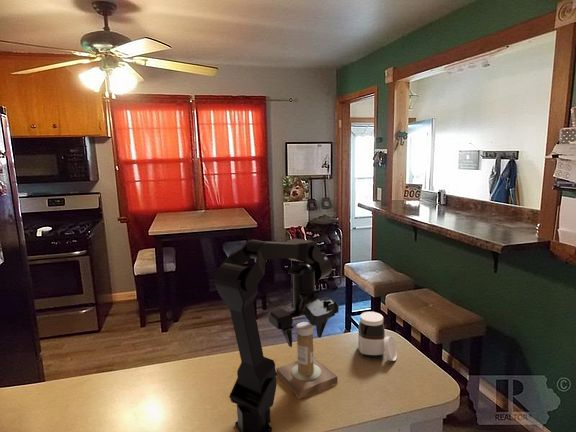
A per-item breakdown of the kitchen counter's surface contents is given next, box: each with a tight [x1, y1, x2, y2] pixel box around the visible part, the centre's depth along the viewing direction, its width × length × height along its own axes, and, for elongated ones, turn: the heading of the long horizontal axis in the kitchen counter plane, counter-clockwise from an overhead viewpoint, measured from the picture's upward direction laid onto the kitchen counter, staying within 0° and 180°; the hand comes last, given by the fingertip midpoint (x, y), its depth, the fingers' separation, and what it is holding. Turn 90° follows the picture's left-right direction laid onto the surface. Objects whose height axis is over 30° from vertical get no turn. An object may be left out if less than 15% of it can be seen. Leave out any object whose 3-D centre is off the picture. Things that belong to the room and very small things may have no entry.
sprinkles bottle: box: [295, 321, 315, 376], centre depth 100 cm, size 5×5×13 cm
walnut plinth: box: [275, 356, 338, 400], centre depth 102 cm, size 12×12×2 cm
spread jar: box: [357, 311, 398, 362], centre depth 112 cm, size 12×11×12 cm
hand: (305, 341), depth 100 cm, fingers open, 9 cm apart
